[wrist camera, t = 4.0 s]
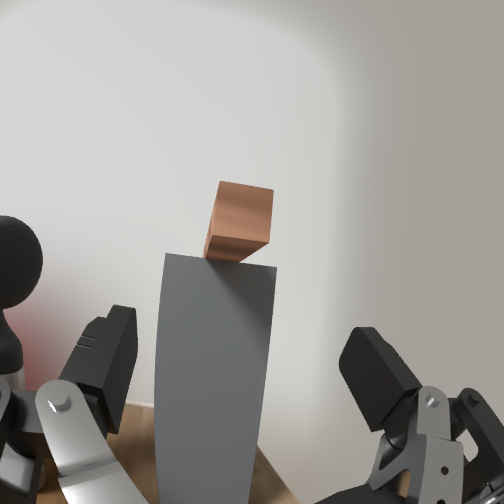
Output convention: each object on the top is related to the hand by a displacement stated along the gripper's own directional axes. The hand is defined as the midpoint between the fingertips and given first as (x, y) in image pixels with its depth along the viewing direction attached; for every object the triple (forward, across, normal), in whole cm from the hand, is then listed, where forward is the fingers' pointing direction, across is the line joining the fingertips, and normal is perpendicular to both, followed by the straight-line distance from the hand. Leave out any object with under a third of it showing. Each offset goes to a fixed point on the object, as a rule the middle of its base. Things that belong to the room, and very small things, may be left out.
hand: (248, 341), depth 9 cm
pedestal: (+2, 0, +33) cm, 33 cm away
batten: (+17, 0, +5) cm, 18 cm away
